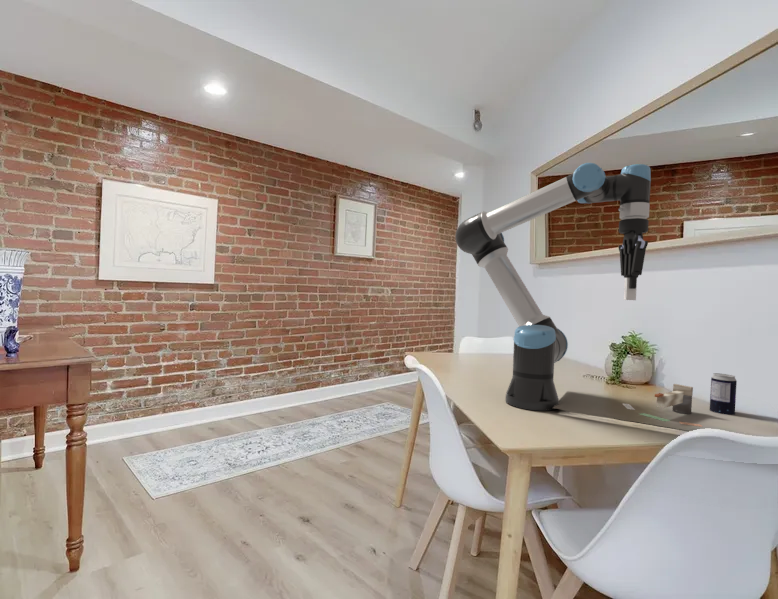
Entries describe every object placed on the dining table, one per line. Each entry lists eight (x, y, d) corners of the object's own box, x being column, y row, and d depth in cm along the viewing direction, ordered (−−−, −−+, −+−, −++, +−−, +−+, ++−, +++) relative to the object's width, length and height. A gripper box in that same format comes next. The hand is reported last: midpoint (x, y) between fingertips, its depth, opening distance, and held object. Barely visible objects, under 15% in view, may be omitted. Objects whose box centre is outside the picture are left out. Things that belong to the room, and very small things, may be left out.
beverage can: (739, 420, 118) (741, 377, 117) (716, 418, 119) (718, 376, 118) (727, 414, 123) (729, 373, 123) (705, 413, 124) (707, 372, 124)
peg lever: (664, 422, 108) (666, 393, 108) (646, 417, 112) (647, 389, 112) (693, 412, 119) (695, 386, 118) (676, 408, 122) (677, 383, 122)
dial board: (613, 418, 115) (614, 413, 115) (617, 404, 130) (617, 400, 130) (705, 434, 104) (705, 428, 104) (697, 416, 120) (698, 411, 120)
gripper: (610, 222, 130) (607, 299, 131) (630, 215, 118) (626, 299, 118) (636, 223, 130) (632, 300, 130) (659, 215, 117) (655, 300, 117)
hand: (629, 299), depth 124 cm, fingers closed
